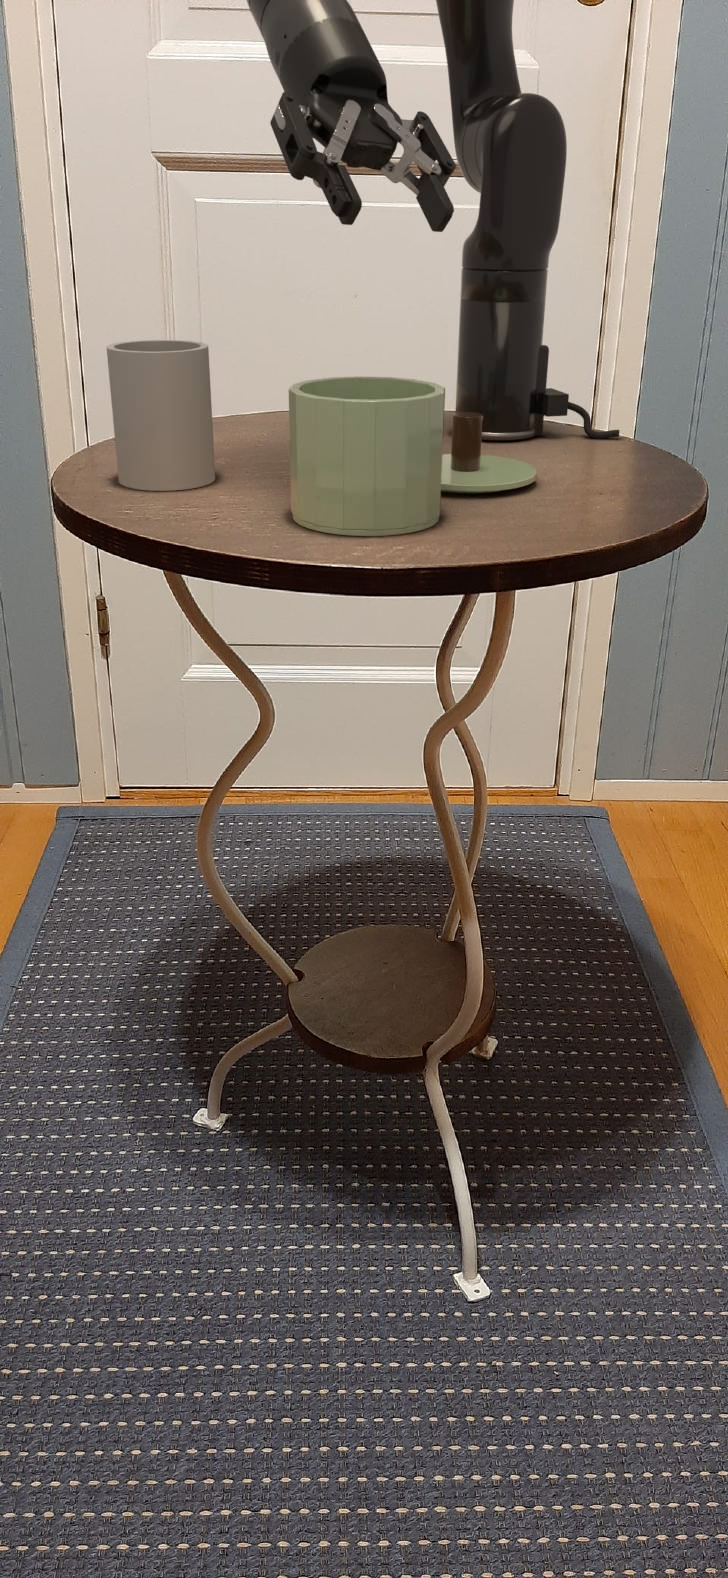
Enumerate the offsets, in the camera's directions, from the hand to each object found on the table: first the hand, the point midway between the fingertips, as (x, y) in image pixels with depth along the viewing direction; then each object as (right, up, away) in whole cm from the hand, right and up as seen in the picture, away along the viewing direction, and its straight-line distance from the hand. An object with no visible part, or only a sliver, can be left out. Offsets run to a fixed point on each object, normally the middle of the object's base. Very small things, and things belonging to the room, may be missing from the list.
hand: (400, 219), depth 87 cm
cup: (-22, -14, +23) cm, 34 cm away
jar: (-3, -20, +11) cm, 23 cm away
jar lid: (+7, -13, +23) cm, 27 cm away
